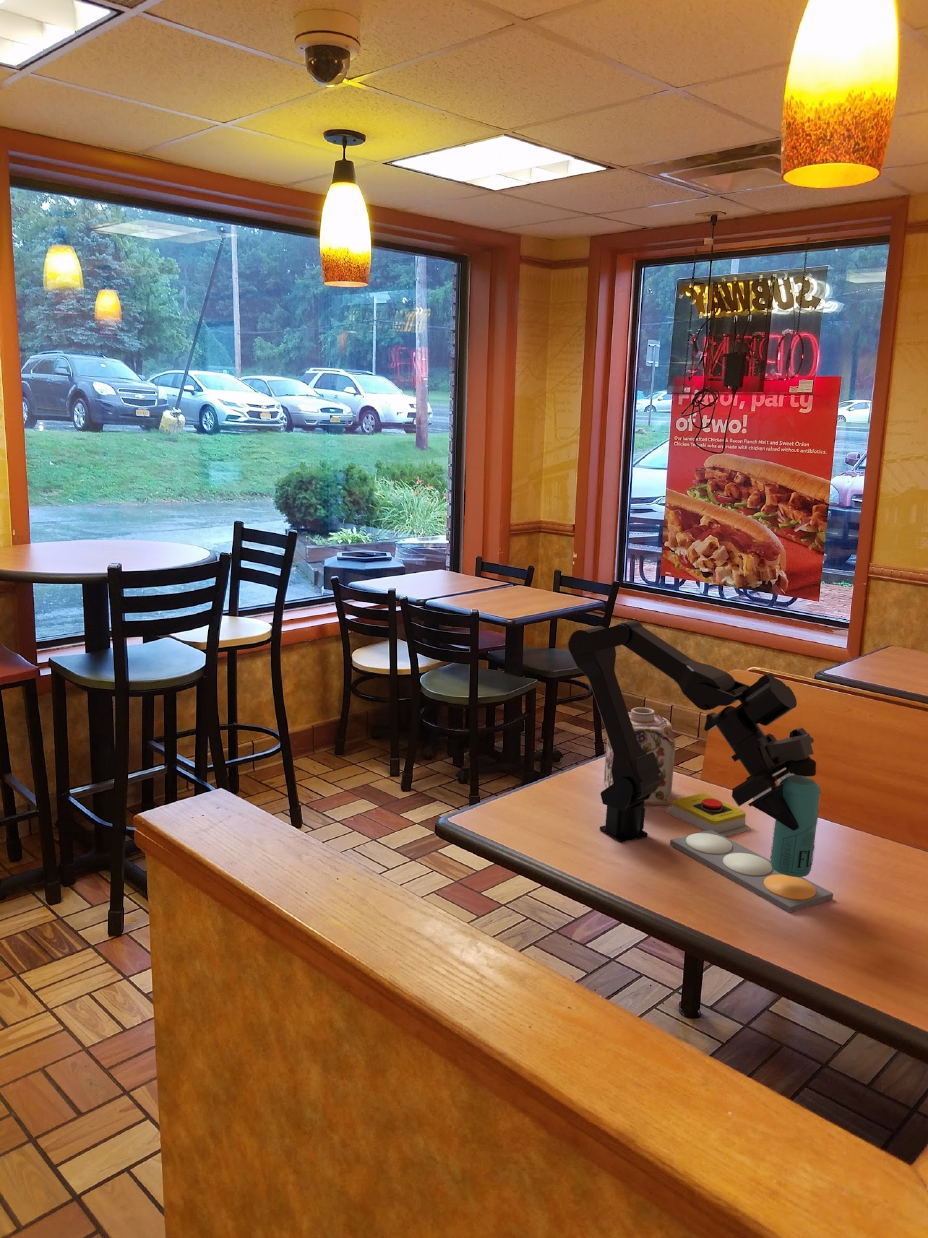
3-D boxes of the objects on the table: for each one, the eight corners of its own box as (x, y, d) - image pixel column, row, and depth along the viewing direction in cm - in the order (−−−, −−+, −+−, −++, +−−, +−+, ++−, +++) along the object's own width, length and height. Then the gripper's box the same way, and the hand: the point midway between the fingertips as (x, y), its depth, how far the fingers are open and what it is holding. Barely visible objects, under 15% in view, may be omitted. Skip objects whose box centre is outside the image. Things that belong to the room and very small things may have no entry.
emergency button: (720, 819, 171) (662, 791, 184) (718, 841, 172) (661, 812, 184) (755, 809, 176) (696, 783, 189) (753, 831, 177) (694, 803, 189)
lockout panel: (789, 913, 146) (790, 905, 145) (669, 844, 168) (670, 838, 168) (832, 899, 151) (833, 891, 150) (710, 834, 173) (711, 828, 173)
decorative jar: (671, 806, 186) (678, 719, 183) (612, 805, 186) (619, 717, 182) (657, 784, 198) (664, 702, 194) (602, 782, 198) (608, 700, 194)
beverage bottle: (795, 890, 147) (811, 769, 143) (759, 873, 152) (773, 756, 148) (818, 879, 151) (834, 762, 147) (782, 863, 156) (797, 749, 152)
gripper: (759, 726, 142) (822, 817, 137) (807, 703, 156) (866, 785, 151) (706, 762, 149) (765, 849, 144) (757, 736, 162) (812, 816, 158)
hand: (804, 823), depth 149 cm, fingers closed on beverage bottle, 6 cm apart
